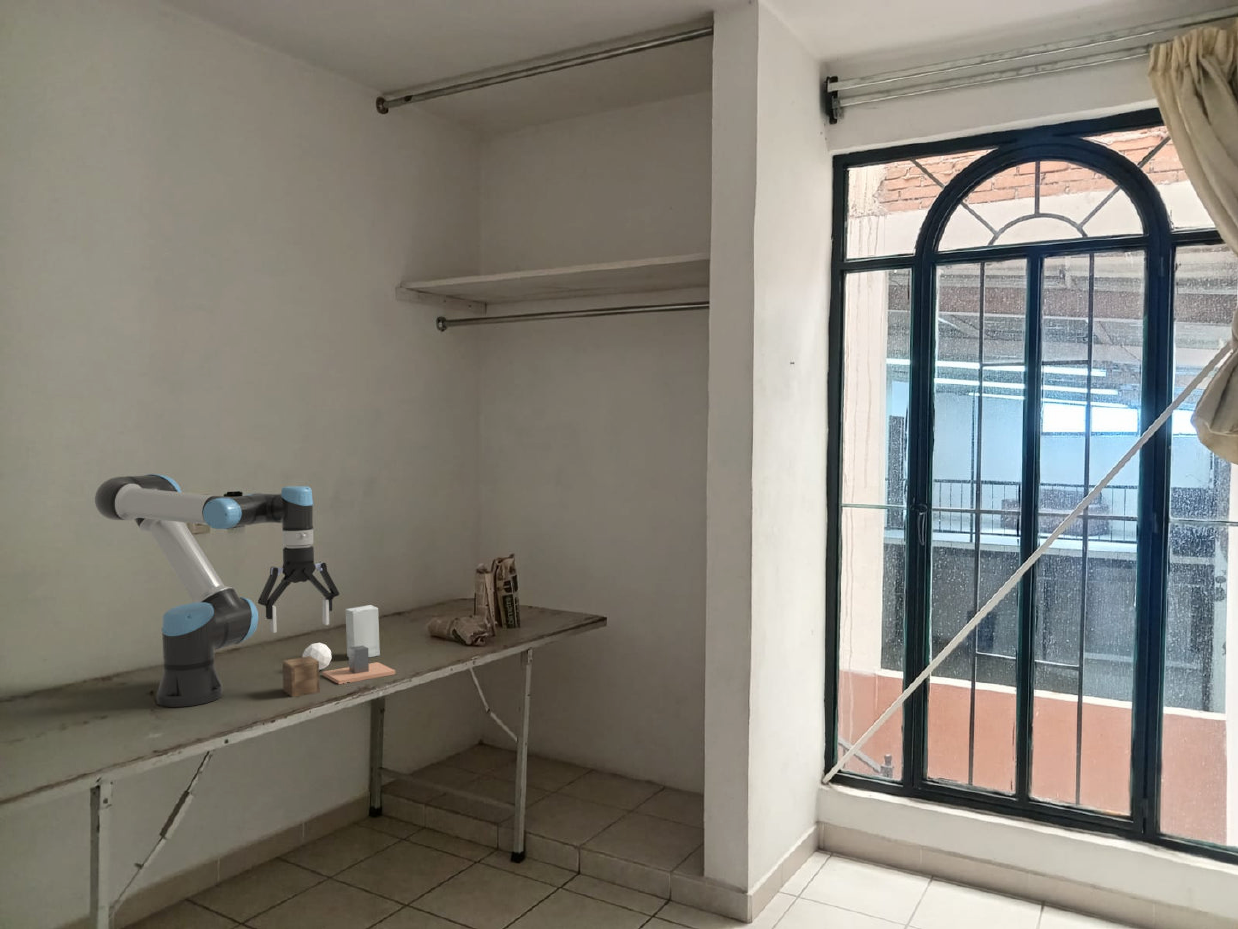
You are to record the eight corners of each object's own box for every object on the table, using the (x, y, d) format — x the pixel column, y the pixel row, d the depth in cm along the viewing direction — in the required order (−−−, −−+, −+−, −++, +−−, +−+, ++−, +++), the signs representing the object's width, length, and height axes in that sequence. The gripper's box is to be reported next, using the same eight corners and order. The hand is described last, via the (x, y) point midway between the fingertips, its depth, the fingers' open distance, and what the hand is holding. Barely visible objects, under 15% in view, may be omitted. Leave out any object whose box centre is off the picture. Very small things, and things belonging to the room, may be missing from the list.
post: (354, 673, 248) (354, 650, 247) (349, 670, 251) (348, 647, 251) (368, 671, 250) (368, 648, 250) (363, 668, 253) (362, 645, 253)
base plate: (339, 684, 241) (338, 680, 241) (322, 675, 250) (322, 671, 250) (395, 674, 251) (395, 670, 251) (377, 665, 260) (377, 662, 260)
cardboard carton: (292, 697, 230) (291, 665, 230) (283, 691, 235) (282, 660, 235) (319, 691, 234) (318, 661, 234) (310, 686, 240) (309, 656, 239)
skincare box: (372, 652, 276) (371, 604, 275) (380, 656, 271) (379, 607, 271) (345, 657, 271) (344, 607, 270) (353, 661, 266) (352, 610, 266)
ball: (310, 679, 257) (301, 654, 260) (338, 666, 259) (328, 642, 262) (305, 672, 250) (295, 646, 253) (333, 659, 253) (323, 634, 256)
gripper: (252, 551, 223) (255, 637, 224) (350, 543, 238) (352, 623, 239) (243, 549, 229) (245, 632, 229) (339, 540, 244) (341, 618, 245)
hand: (300, 627), depth 234 cm, fingers open, 13 cm apart
